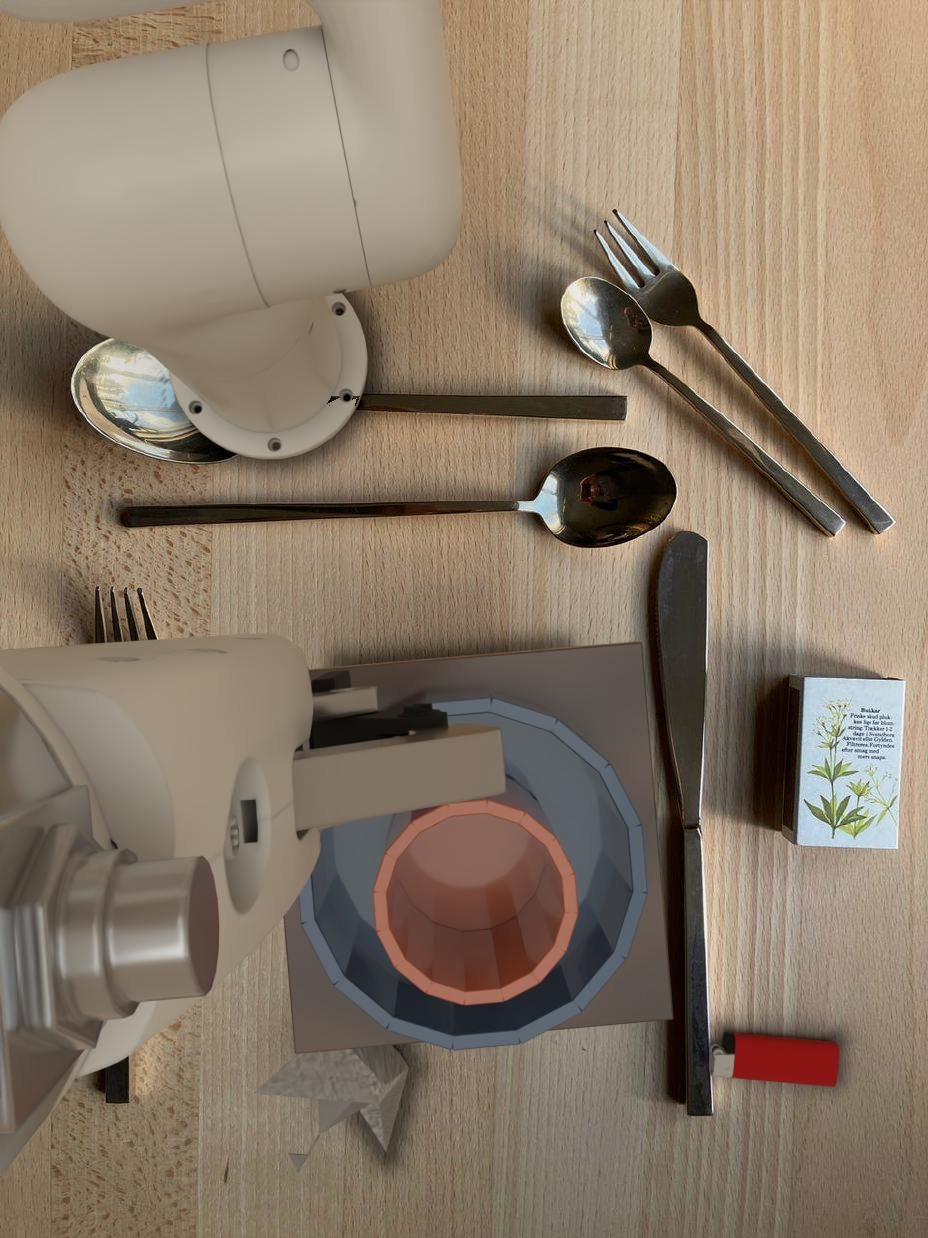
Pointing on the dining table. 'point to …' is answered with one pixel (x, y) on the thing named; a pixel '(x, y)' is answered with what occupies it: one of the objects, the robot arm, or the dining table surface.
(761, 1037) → the lighter
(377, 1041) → the stand
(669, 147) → the dining table surface
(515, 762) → the bowl
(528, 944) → the cup
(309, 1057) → the grey origami bird
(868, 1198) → the dining table surface
